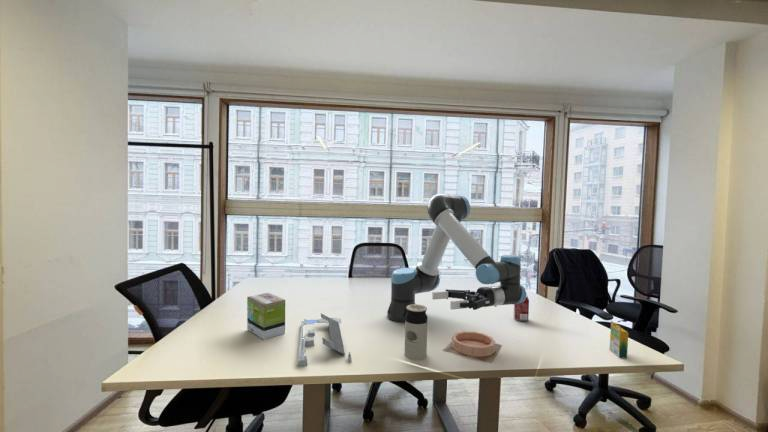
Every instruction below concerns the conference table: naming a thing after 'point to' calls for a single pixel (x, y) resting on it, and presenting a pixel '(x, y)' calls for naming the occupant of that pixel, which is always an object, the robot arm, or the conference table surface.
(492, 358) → the cork mat
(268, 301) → the tea box
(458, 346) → the bowl
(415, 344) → the travel mug
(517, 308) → the soda can
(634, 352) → the conference table surface
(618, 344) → the crayon box
